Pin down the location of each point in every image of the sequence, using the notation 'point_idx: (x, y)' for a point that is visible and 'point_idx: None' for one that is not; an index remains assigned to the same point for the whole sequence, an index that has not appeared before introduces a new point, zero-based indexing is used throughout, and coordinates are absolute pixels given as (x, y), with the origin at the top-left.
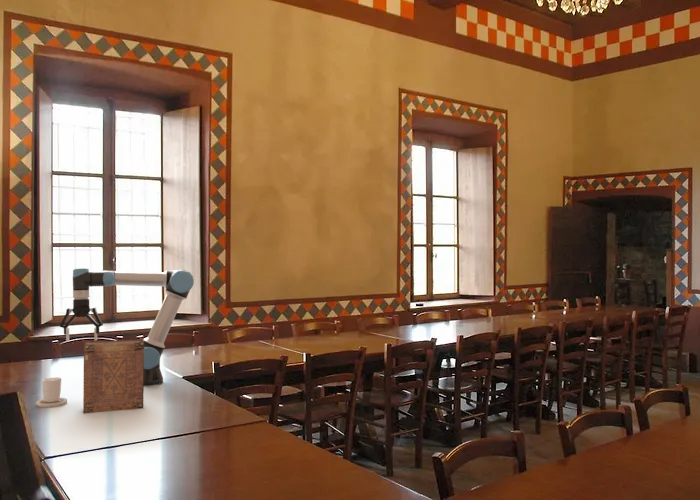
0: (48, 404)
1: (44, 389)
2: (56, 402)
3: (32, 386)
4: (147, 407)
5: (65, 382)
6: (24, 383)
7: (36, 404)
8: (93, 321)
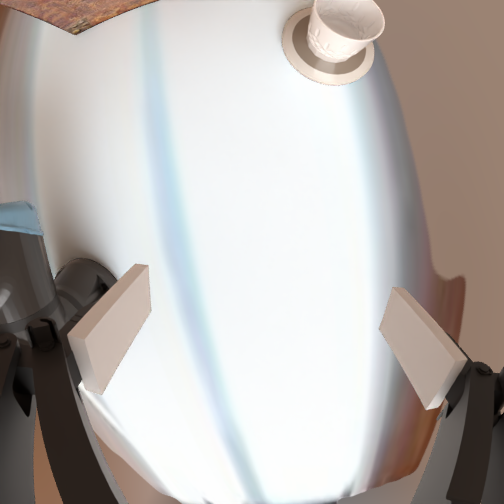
0: None
1: (359, 12)
2: (307, 15)
3: None
4: None
5: (334, 358)
6: None
7: None
8: (48, 414)
